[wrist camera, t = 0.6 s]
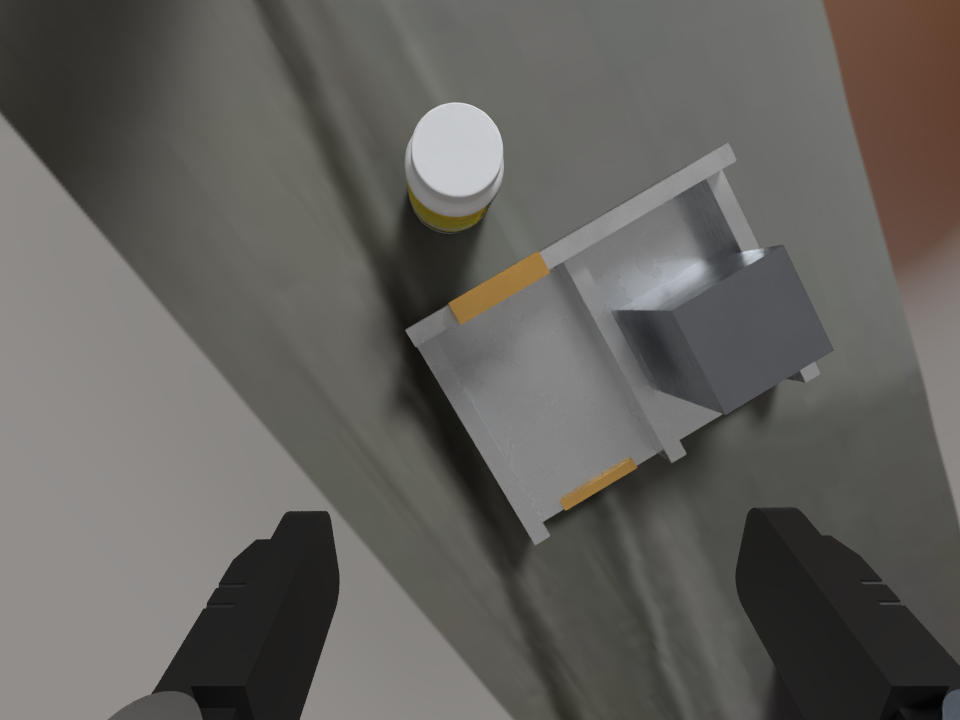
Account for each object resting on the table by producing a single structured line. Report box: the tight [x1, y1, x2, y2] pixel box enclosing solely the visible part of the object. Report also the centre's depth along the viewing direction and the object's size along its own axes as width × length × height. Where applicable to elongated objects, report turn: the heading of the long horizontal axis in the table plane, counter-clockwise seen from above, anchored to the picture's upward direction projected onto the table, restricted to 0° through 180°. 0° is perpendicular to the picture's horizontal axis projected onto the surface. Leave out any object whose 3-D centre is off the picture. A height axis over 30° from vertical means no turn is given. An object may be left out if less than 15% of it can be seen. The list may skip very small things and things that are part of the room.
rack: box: [405, 143, 834, 545], centre depth 29 cm, size 14×19×8 cm
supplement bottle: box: [405, 103, 504, 234], centre depth 27 cm, size 5×5×8 cm
